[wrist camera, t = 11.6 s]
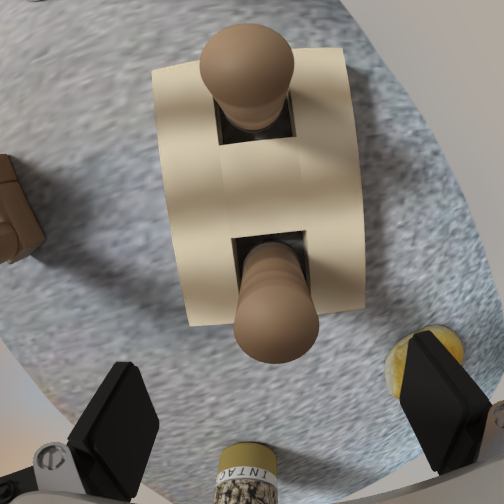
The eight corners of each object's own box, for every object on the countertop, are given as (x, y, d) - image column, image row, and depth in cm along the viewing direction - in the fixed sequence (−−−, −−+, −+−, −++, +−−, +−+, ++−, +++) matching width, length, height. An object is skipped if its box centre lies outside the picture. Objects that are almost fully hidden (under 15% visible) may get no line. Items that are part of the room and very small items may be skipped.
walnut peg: (242, 236, 26) (224, 292, 14) (294, 230, 25) (319, 281, 14) (248, 285, 27) (238, 368, 15) (298, 279, 27) (322, 360, 15)
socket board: (163, 80, 23) (151, 70, 20) (333, 60, 22) (342, 47, 19) (196, 310, 28) (189, 326, 25) (355, 293, 27) (365, 308, 24)
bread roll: (452, 371, 29) (468, 390, 25) (383, 396, 30) (394, 420, 26) (457, 310, 27) (477, 327, 23) (381, 336, 28) (395, 359, 24)
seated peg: (224, 90, 23) (193, 29, 11) (277, 83, 22) (289, 17, 11) (230, 140, 24) (202, 114, 12) (284, 133, 24) (303, 102, 12)
